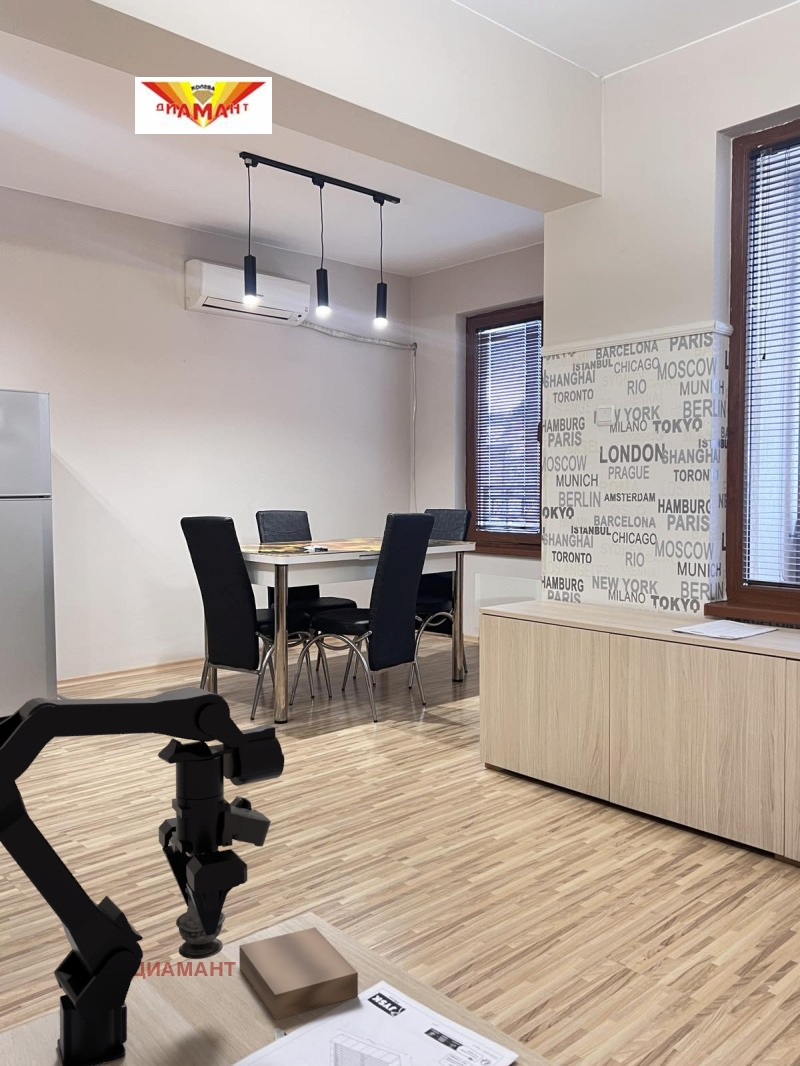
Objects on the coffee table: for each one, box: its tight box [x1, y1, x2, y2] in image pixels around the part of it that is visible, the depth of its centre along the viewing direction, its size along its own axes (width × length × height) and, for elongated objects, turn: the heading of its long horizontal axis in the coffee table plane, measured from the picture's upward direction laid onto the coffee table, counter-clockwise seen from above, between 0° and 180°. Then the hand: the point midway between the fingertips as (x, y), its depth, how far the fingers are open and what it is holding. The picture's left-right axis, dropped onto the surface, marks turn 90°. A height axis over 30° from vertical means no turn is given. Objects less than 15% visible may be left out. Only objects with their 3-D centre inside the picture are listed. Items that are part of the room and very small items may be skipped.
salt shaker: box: [175, 888, 226, 960], centre depth 105 cm, size 6×6×12 cm
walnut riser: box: [238, 927, 359, 1020], centre depth 112 cm, size 11×14×3 cm
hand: (200, 919), depth 105 cm, fingers closed on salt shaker, 8 cm apart
